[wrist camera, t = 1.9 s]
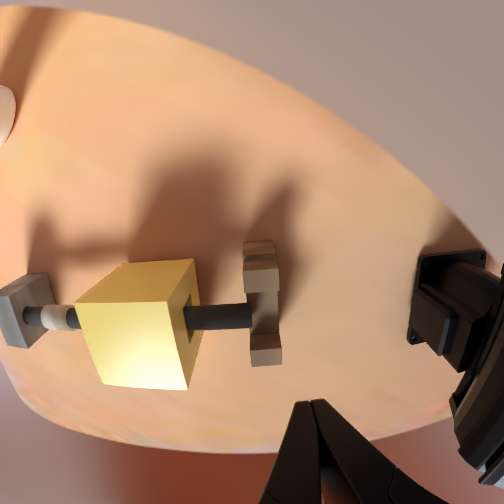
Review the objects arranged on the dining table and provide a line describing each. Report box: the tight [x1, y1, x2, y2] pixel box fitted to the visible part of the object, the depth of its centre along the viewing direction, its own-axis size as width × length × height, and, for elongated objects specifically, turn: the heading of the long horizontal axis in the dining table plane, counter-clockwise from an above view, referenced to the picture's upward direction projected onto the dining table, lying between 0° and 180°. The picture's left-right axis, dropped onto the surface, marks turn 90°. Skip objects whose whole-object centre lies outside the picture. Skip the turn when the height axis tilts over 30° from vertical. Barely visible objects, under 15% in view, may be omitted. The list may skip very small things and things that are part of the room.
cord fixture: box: [0, 240, 282, 367], centre depth 15 cm, size 18×6×4 cm, turn 94°
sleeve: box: [74, 258, 204, 390], centre depth 14 cm, size 4×4×6 cm
